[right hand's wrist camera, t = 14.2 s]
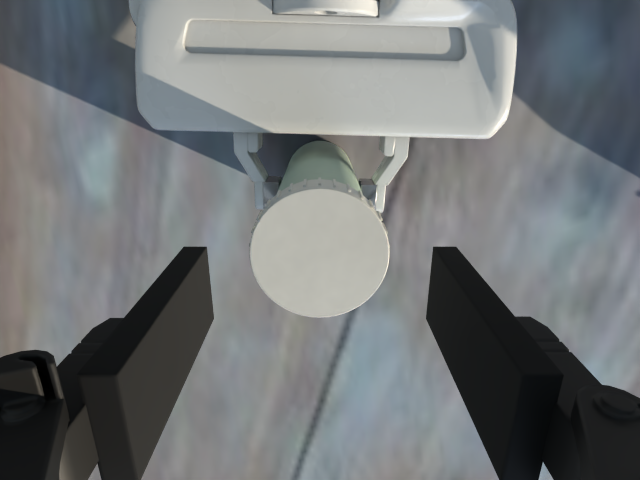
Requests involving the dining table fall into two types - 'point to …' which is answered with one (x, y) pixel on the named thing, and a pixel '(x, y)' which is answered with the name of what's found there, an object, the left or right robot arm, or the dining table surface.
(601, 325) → the dining table surface
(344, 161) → the jar
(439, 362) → the dining table surface
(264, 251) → the lid
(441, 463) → the dining table surface
